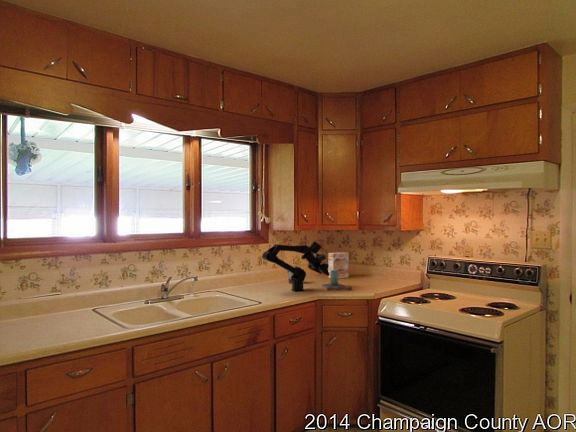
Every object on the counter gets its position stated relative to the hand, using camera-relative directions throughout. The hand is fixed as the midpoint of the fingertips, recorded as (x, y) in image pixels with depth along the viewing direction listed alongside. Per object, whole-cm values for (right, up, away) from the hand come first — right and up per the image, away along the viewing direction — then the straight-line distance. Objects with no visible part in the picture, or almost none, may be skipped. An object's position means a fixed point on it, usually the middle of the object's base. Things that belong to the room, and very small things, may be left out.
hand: (325, 274), depth 270 cm
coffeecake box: (+14, -9, +40) cm, 44 cm away
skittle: (+6, -8, +3) cm, 11 cm away
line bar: (+8, -9, -9) cm, 15 cm away
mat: (+6, -9, +4) cm, 11 cm away
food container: (-20, -9, +17) cm, 27 cm away
